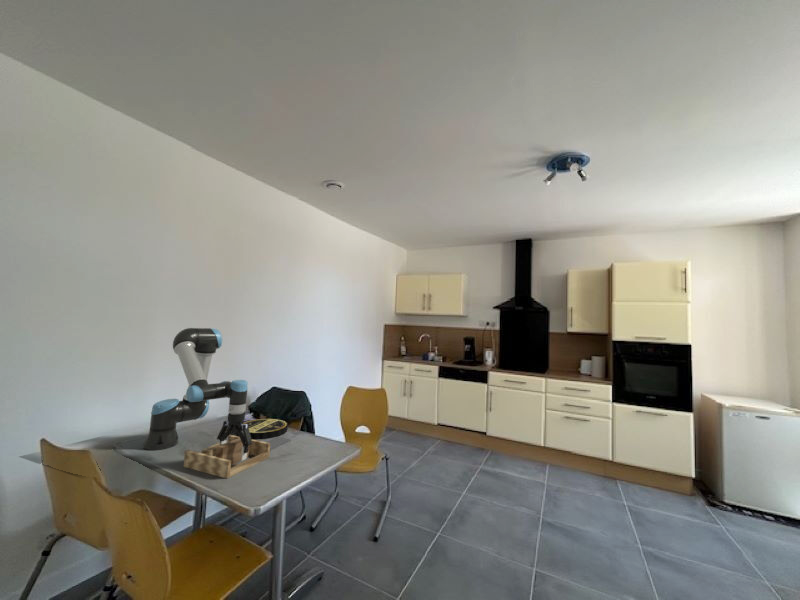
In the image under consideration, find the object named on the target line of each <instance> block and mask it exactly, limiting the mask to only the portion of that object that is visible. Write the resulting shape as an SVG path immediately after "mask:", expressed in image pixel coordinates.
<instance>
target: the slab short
mask: <svg viewBox="0 0 800 600" xmlns="http://www.w3.org/2000/svg"><path fill="white" fill-rule="evenodd" d="M219 445H220V442H218V443H215V444H213V445H211V446H209V447H206V448H204V449H202V450H201V453H203V454H207V455H211V456H214V455H216V449H217V446H219Z"/></svg>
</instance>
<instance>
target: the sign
mask: <svg viewBox="0 0 800 600" xmlns="http://www.w3.org/2000/svg"><path fill="white" fill-rule="evenodd" d="M243 424H249V432H250V435H251V439H253V440H257V441H259V440H267V439H268V440H270V439H274V438H276V437H281V436H283V435H285V434H286V433H287V432H288V429H289V428H288V426H289V423H288V422H287V421H285V420H283V419H278V418H260V419H253V420H247V421H243ZM240 431H241V430H240ZM235 434H236V436H238V437H239V435H238V434H237V433H235Z"/></svg>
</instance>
